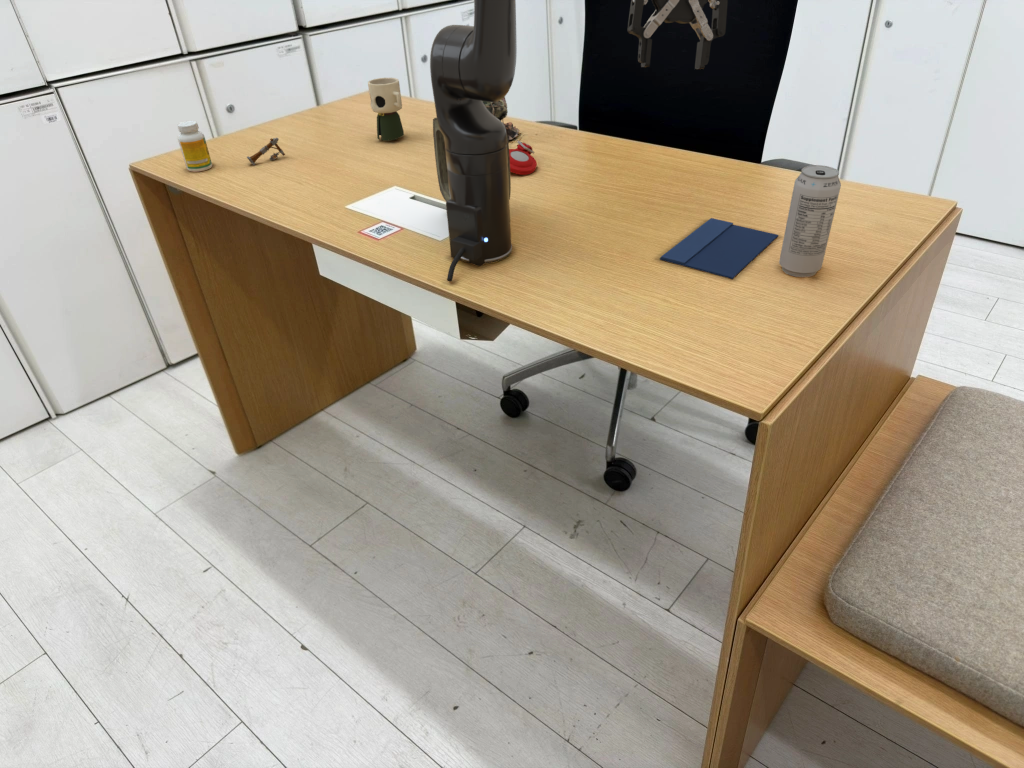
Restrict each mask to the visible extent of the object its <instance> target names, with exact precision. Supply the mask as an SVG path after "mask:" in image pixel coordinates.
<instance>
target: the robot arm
mask: <svg viewBox="0 0 1024 768" xmlns="http://www.w3.org/2000/svg"><path fill="white" fill-rule="evenodd" d="M648 2H649V0H630V7H629V14H628V21H627V33H628V34H630V35H633V36H635V37H637V38H638V49H637V50H638V51H637V62H638V63H639V64H640V68H650V66H651V57H652V46H653V38H651V37H652V35H653V34H654V33H655V32H656V31H657V29H658V28H659V27H660V26H661V25H662V24H663V22H664V23H665V24H671V23H677V24H682V25H684V24H689V25H690V26H691V28H692V29H693V30H694V31H695V34H696V35H697V38H698V39H699V41H697V43H696V52H695V62H694V70H704V69H705V67H706V66H707V65H708V63H709V62H710V55H711V54H710V53H711V45H712V41H714V40H715V39H718V38H720V37H723V36H725V35H726V32H727V31H726V30H727V16H728V2H729V0H651V3H652V4H653V6H654V9H655V10H654V12H653V13H652V14H651V15H650V17H649V18H648V20H647V21H646V23H645V24H644V26H642V17H643V12H644V6H646V5H647V4H648ZM707 3H709V7H710V8H711V9H712V15H711V27H710V25H709V21H708V18H707V16H706V14H705V12H704V10H703V9H704V7H705V6H706V4H707ZM516 8H517V2H516V0H473V25H464V24H450V25H447V26H444V27H443V28H441V29H440V30H439V31H438V32H437V34H435V37H434V39H433V42H432V44H431V48H430V54H429V55H430V56H429V71H430V81H431V87H432V88H431V89H432V95H433V101H434V108H435V115H436V118H437V122H438V126H439V129H440V131H441V133H442V135H443V137H444V141H445V150H446V160H447V172H448V183H449V193H450V199H449V200H447V201H445V208H446V209H445V210H446V218H447V219H446V220H447V230H448V239H449V250H450V251H449V252H450V257H451V258H452V261H451V263H450V265H449V267H448V273H447V278H446V280H447V282H452V281H453V280H454V279H453V278H454V275H455V269H456V267H457V264H458V263H459V261H461V262H465V263H468V264H471V265H474V266H477V267H482V266H484V265H488V264H493V263H497V262H500V261H503V260H505V259H506V258H508V257H509V256H510V255H511V254H512V253H513V244H512V227H511V205H510V200H509V181H508V155H507V133H506V128H505V125H504V124H505V123H504V122H503V121H502V120H501V121H500V120H499V119H498V118H496V117H495V116H494V115H492V114H491V113H490V112H489V111H488V110H487V108H486V107H485V105H484V104H483V102H482V101H486V102H497V101H499V100H501V99H502V98H504V97H505V98H506V96H507V95H508V93H509V91H510V89H511V87H512V85H513V82H514V78H515V73H516V68H517V67H516V66H517V65H516V64H517V9H516ZM503 123H504V124H503Z"/></svg>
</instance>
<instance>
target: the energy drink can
mask: <svg viewBox="0 0 1024 768" xmlns="http://www.w3.org/2000/svg"><path fill="white" fill-rule="evenodd" d="M839 175H840V171H839V170H838V169H837V168H834V167H832V166H829V165H821V164H812V165H806V166H804V167H802V168H801V172H800V174H799V175H798V176H797V177H796V178H795V180H794V184H793V189H792V193H791V199H790V203H789V209H788V214H787V220H786V224H785V229H784V235H783V240H782V245H781V250H780V254H779V260H778V263H779V265H780V267H781V271H782V272H783V273H784V274H787V275H788V276H791V277H796V278H810V277H813V276H815V275H816V274H817V272H818V271H820V270H822V267H823V263H824V259H825V255H826V250H827V247H828V242H829V239H830V238H829V237H830V234H831V230H832V225H833V221H834V217H835V213H836V209H837V204H838V200H839V195H840V191H841V188H842V182H841V181H840V177H839Z"/></svg>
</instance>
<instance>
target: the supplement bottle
mask: <svg viewBox="0 0 1024 768" xmlns="http://www.w3.org/2000/svg"><path fill="white" fill-rule="evenodd" d="M199 129H200V128H199V124H198V122H197V121H196V120H186V121H182V122H178V123H177V130H178V132H179V134H178V136H177V142H178V145H179V147H180V148H179V149H180V151H181V154H182V157H183V161H184V164H185V167H186V170H187V171H189V172H195V173H196V172H197V173H198V172H199V173H200V172H205V171H207V170H210V169H211V168H212V167H213V162H212V159H211V154H210V151H209V147H208V145H207V141H206V137H205V135H204V133H203V132H202V131H200V130H199Z"/></svg>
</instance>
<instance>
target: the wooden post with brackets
mask: <svg viewBox="0 0 1024 768" xmlns="http://www.w3.org/2000/svg"><path fill="white" fill-rule="evenodd" d="M278 143H279V137H273V138H272V137H271V138H270V139H269V142H268V143H267V144H266V145H264V146H262V148H260V149H259V151H258V152H256V153H254V154H253V155H251V156H249V155H247V156H246V158H247V160H248V161H249V162H250V163H251V164H252V165H253V166H255V165H256V162H257V160H259V158H260V157H262V156H263V155H265V154H266V153H267V152H268V151H270V149H274V150H278V152H273V153H272V155H270V156H269V160H270V161H275V160H276V159H278V158H279V154H281V156H283V157H284V156H286V153H285V152H284V150H283V149H282V148H281V147H280V146H279V145H278Z"/></svg>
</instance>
